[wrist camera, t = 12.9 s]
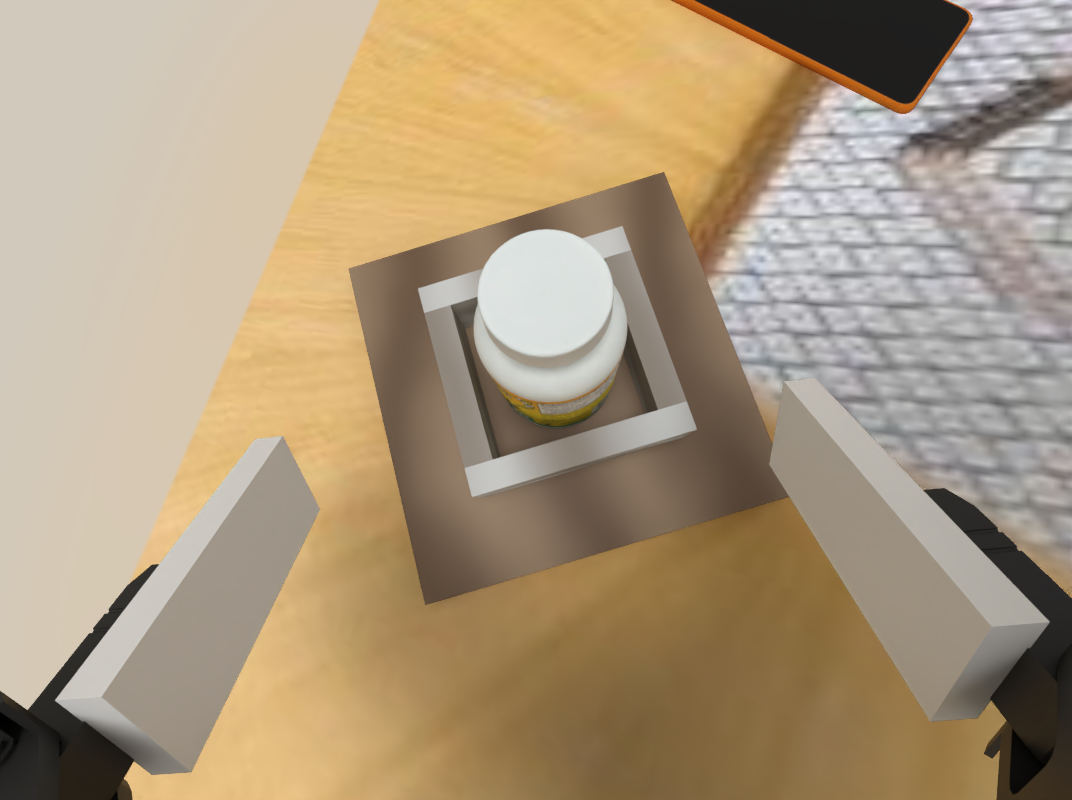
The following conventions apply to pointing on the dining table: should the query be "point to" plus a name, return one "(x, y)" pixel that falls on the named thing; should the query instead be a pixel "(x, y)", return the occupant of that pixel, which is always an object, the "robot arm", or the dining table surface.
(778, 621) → the dining table surface
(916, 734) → the dining table surface
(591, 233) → the square framed base tray
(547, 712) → the dining table surface
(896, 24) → the smartphone
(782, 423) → the robot arm
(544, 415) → the supplement bottle
